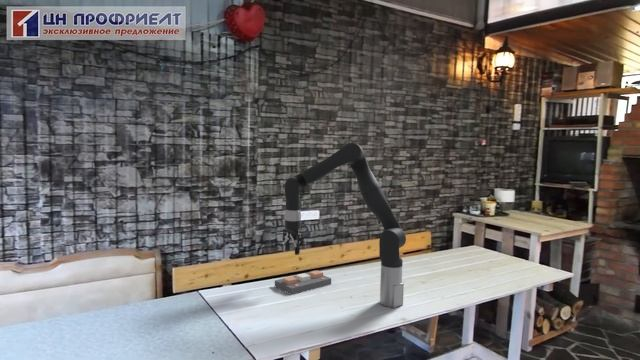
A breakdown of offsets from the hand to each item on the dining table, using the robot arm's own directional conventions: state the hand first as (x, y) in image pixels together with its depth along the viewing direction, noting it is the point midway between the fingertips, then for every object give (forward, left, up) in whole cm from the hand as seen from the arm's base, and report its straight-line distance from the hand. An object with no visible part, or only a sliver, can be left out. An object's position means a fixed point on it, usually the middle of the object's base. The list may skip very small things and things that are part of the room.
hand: (292, 252), depth 196 cm
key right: (-1, -15, -15) cm, 21 cm away
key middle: (-1, -7, -15) cm, 17 cm away
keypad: (-1, -7, -17) cm, 18 cm away
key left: (-1, +1, -15) cm, 15 cm away
